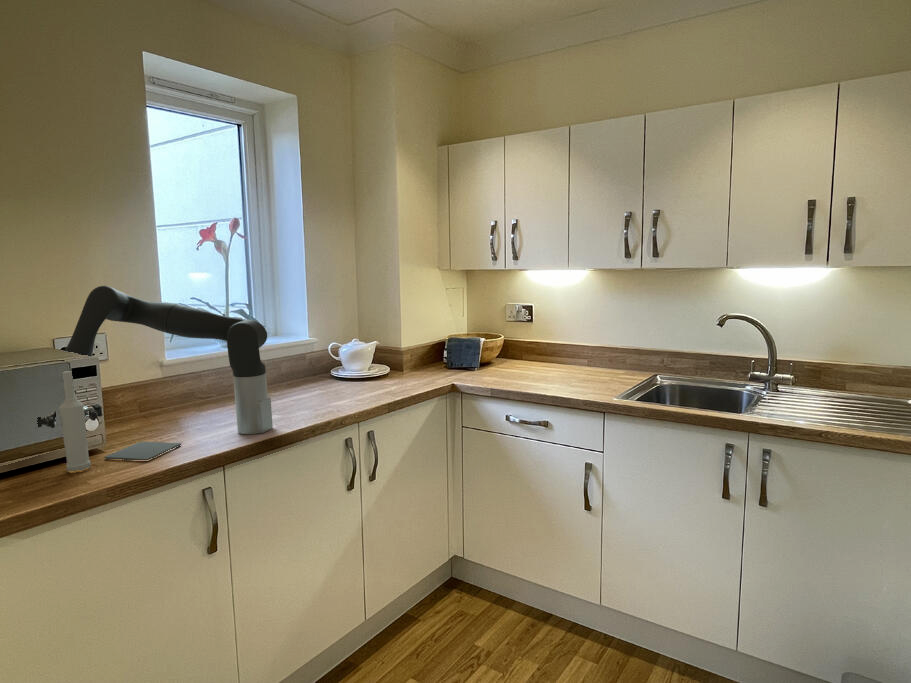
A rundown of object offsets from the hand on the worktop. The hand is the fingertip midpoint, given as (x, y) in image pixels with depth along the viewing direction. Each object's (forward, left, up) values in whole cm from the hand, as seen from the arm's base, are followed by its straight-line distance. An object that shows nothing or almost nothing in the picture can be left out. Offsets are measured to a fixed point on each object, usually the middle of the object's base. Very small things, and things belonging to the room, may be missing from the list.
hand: (73, 420), depth 142 cm
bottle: (+1, 0, -13) cm, 13 cm away
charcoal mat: (-6, -14, -13) cm, 20 cm away
